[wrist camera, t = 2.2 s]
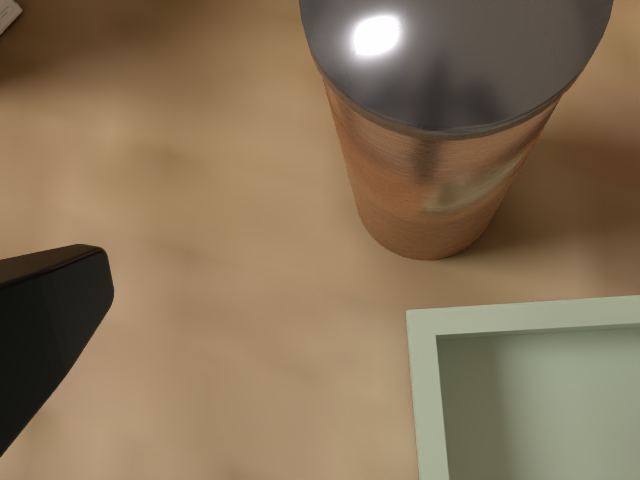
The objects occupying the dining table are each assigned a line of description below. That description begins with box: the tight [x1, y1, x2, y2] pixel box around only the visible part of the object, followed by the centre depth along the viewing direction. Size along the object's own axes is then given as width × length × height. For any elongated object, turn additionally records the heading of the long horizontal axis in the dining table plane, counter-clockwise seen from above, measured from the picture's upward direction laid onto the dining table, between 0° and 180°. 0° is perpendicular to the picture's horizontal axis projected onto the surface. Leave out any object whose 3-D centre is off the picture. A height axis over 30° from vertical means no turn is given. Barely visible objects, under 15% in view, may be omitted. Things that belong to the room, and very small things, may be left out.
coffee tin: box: [299, 0, 613, 260], centre depth 16 cm, size 5×5×12 cm
